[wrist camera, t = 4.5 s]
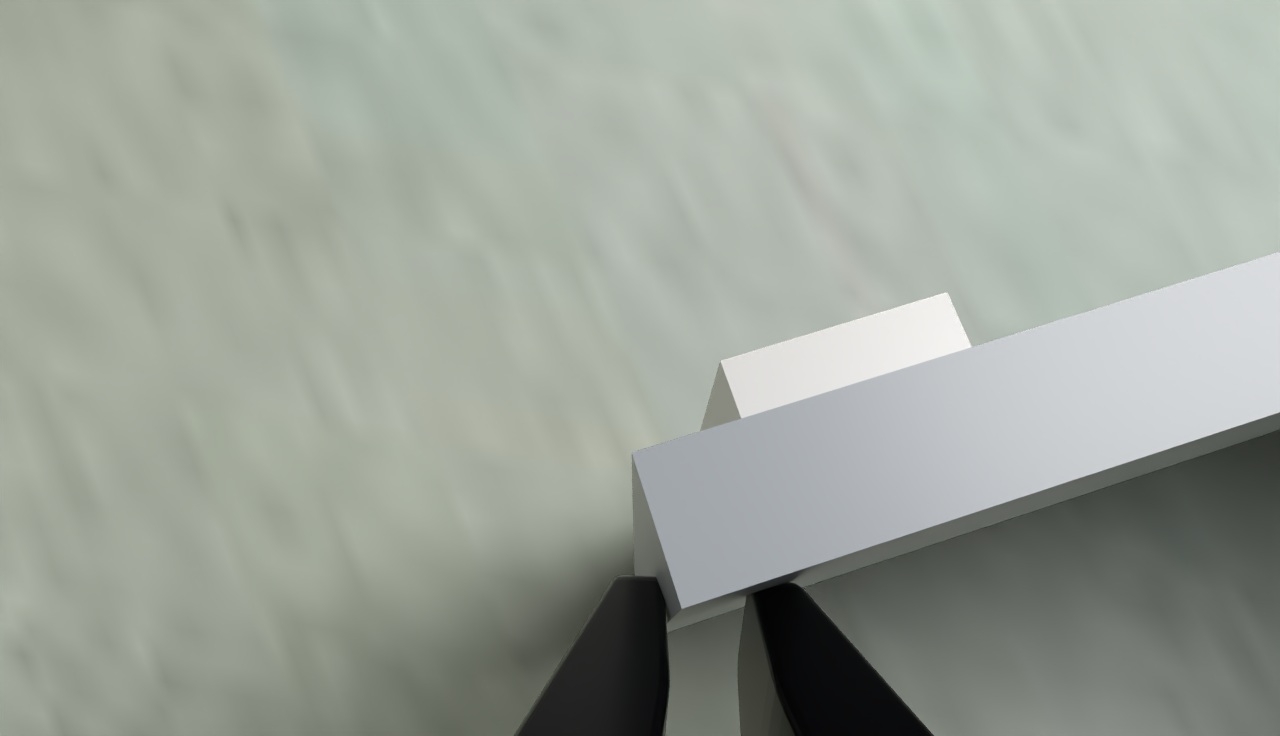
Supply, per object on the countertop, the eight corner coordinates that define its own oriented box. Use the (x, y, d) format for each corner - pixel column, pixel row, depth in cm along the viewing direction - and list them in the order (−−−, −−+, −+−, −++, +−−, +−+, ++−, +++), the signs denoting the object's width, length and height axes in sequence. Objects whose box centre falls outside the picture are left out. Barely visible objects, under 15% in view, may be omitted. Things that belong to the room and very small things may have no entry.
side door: (1362, 287, 16) (2199, -137, 7) (1420, 383, 15) (2393, 46, 7) (618, 522, 14) (595, 338, 6) (653, 636, 14) (681, 608, 5)
